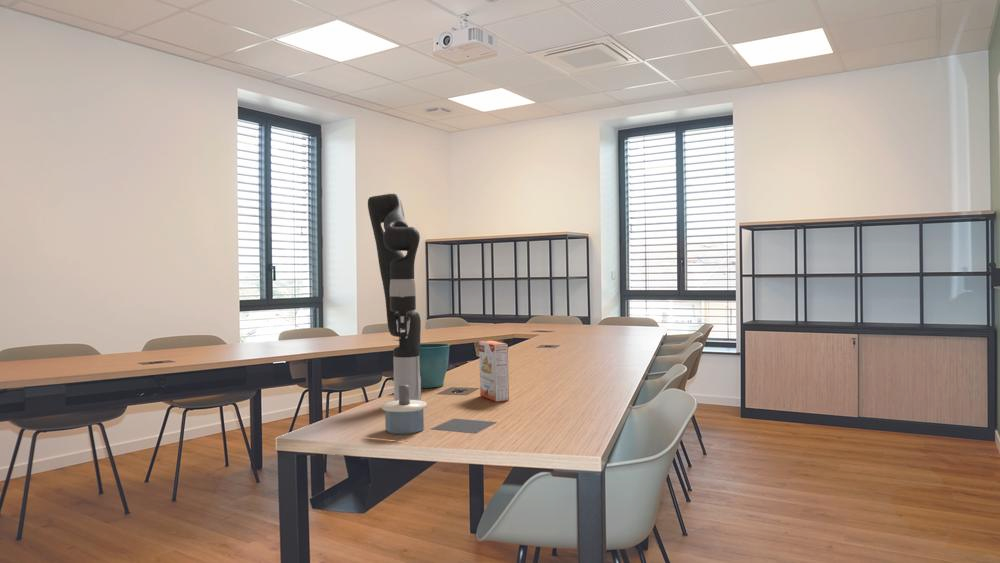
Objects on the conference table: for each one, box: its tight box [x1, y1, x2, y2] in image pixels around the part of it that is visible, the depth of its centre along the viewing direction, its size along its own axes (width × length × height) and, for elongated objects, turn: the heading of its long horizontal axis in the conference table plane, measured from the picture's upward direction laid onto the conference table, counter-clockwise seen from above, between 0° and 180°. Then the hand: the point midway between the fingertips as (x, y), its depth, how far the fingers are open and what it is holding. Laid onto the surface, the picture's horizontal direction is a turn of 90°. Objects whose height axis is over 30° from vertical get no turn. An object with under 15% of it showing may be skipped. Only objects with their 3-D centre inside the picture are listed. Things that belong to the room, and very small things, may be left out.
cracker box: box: [478, 340, 510, 403], centre depth 238 cm, size 14×6×21 cm, turn 25°
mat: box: [430, 418, 498, 434], centre depth 194 cm, size 15×15×1 cm
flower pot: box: [419, 342, 451, 389], centre depth 268 cm, size 18×18×17 cm
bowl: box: [384, 409, 425, 435], centre depth 189 cm, size 11×11×7 cm
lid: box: [381, 384, 428, 412], centre depth 189 cm, size 13×13×6 cm
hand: (403, 349), depth 190 cm, fingers open, 8 cm apart
